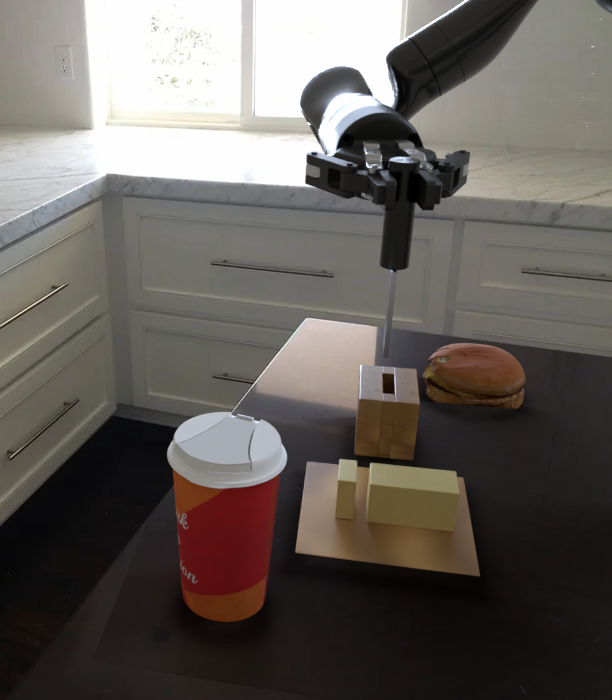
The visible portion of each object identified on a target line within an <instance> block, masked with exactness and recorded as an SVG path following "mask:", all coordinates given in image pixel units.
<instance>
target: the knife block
mask: <svg viewBox="0 0 612 700" xmlns="http://www.w3.org/2000/svg"><path fill="white" fill-rule="evenodd" d="M420 408H421V402H420V391H419V382H418V372H417V369H416V368H408V367H407V368H406V367H395V366H380V365H378V366H377V365H368V364H367V365H366V364H360V366H359V378H358V387H357V398H356V412H355V428H354V429H355V430H354V453H353V454H354V455H355V456H366V457H375V458H382V459H383V458H384V459H394V460H402V461H403V460H404V461H405V460H406V461H414V457H415V447H416V441H417V431H418V425H419V424H418V423H419V416H420Z"/></svg>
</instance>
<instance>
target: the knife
mask: <svg viewBox="0 0 612 700" xmlns="http://www.w3.org/2000/svg"><path fill="white" fill-rule="evenodd" d="M419 168H420V160H419V159H416V158H412V157H395V158H391V159H390V160H389V168H388V172H389V173H390V174H391V175H392V176H393V177H394V179H395V180H396V182H397V190H396V200H395V208H394V211H384V212H383V222H382V233H381V243H380V254H379V256H380V257H379V267H380V268H382V269H385V270H389V278H388V287H387V288H388V289H387V296H386V297H387V299H386V308H385V319H384V328H383V339H382V357H383V359H389V356H390V346H391V338H392V327H393V316H394V307H395V298H396V287H397V278H398V277H397V276H398V271H403V270H407V269H408V268H409V266H410V260H411V251H412V241H413V234H414V233H413V232H414V231H413V230H414V223H415V213H416V205H417V203H416V196H417V186H418V177H419Z"/></svg>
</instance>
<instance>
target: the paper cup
mask: <svg viewBox="0 0 612 700" xmlns="http://www.w3.org/2000/svg"><path fill="white" fill-rule="evenodd" d="M166 457H167V461H168V464H169V465H170V467H171V468H172V475H173V476H172V477H173V490H174V502H175V503H174V504H175V516H176V530H177V543H178V544H177V545H178V554H179V555H178V556H179V565H180V566H179V568H180V580H181V581H180V582H181V593H182V598H183V601H184V603H185V605H186V606H187V607H188V608H189V609H190V611H192V613H193V612H194V613H195V614H196V615H198V616H199V617H202V618H204V619H207V620H210V621H214V622H222V623H231V622H232V623H233V622H238V621H243V620H245V619H248V618H250V617H253V616H254V615H255V614H257V613H258V612H259V611H260V610H261V609H262V607H263V606H264V604H265V602H266V596H267V590H268V583H269V575H270V566H271V556H272V549H273V543H274V542H273V541H274V533H275V525H276V515H277V506H278V497H279V490H280V481H281V473H282V471H283V470H284V469H285V467H286V465H287V460H288V453H287V450H286V448H285V446H284V444H283V443H282V438H281V435H280V433H279V432H278V429H276V428H275V427H274V426H273V425H272V424H271V423H269V422H268V421H266V420H264V419H260V420H255V417H252V416H248V415H243V414H239V413H237V414H236V415H233V414H232V412H231V411H215V412H207V413H202V414H200V415H196V416H193V417H191V418H189V419H187V420H185V421H184V422H182V424H180V425H179V427H178V428H177V429H176V430H175V432H174V434H173V439H172V440H171V442H170V444H169V446H168V448H167V452H166Z"/></svg>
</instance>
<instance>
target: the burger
mask: <svg viewBox="0 0 612 700" xmlns="http://www.w3.org/2000/svg"><path fill="white" fill-rule="evenodd" d="M427 363H428V364H427V365H426V367H425V371H424V372H422V377H421V378H422V379H423V381H424V383H425V385H426V386H425V391H426V395H427V396H428V398H429V399H430V400H431V401H432V402H434V403H440V404H451V405H463V406H475V407H486V408H496V409H497V408H498V409H508V410H517V409H519V408H520V407H521V405H522V404H523V402H524V397H525V389H524V388H523V387H524V386H525V383H526V380H527V378H526V377H527V376H526V373H525V370H524V368H523V366H522V365H521V362H519V361H518V360H517V359H516V357H515V356H513V355H512V354H511V353H510V352H508V351H506V350H504V349H502V348H500V347H496V346H494V345H488V344H481V343H471V342H470V343H469V342H460V343H450V344H447V345H444V346H441V347H440V348H438V349H437V350H435V351H434V352H433V353H432V355H431V356H430V357H429V358H428V360H427Z"/></svg>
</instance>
